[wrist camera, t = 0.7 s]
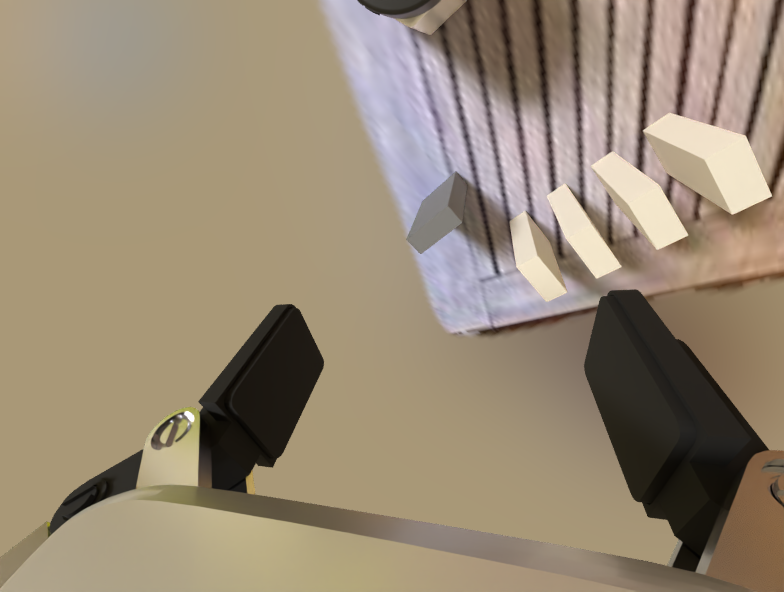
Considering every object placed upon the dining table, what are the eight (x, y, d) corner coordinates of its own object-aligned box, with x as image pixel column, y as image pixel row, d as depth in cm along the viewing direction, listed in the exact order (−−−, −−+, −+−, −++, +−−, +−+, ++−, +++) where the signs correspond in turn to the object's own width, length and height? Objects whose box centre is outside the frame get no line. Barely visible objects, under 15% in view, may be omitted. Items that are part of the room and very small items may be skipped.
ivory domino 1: (525, 210, 34) (537, 255, 26) (549, 241, 35) (567, 292, 28) (509, 221, 35) (516, 267, 27) (533, 250, 37) (546, 302, 29)
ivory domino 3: (612, 151, 29) (659, 185, 21) (636, 190, 30) (688, 235, 23) (590, 166, 30) (627, 203, 22) (614, 203, 31) (657, 250, 24)
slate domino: (422, 200, 36) (406, 239, 28) (455, 171, 33) (447, 205, 25) (433, 213, 37) (420, 254, 29) (467, 185, 34) (462, 222, 26)
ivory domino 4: (669, 112, 26) (745, 135, 19) (692, 157, 28) (772, 196, 20) (642, 130, 27) (704, 159, 20) (666, 173, 29) (732, 214, 21)
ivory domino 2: (565, 183, 31) (591, 224, 24) (589, 218, 33) (621, 266, 25) (546, 195, 32) (566, 238, 25) (571, 228, 34) (596, 278, 26)
